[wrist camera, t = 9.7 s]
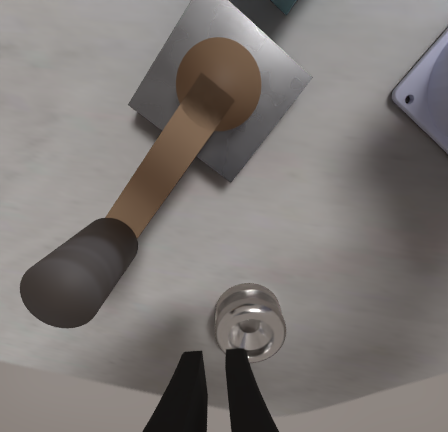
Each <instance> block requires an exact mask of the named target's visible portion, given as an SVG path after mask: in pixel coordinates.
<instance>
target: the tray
mask: <svg viewBox="0 0 448 432" xmlns="http://www.w3.org/2000/svg"><path fill="white" fill-rule="evenodd" d="M271 1H272V2H273V3H274V4H275V5H276V6H277V7H278V8H279V9H280V10H281V11H282V12H283V13H284V14H285V15H287V14H288V13H289V11H290V10H291V8H292V7H293V5H294V4H295V3H296V1H297V0H271Z"/></svg>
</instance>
